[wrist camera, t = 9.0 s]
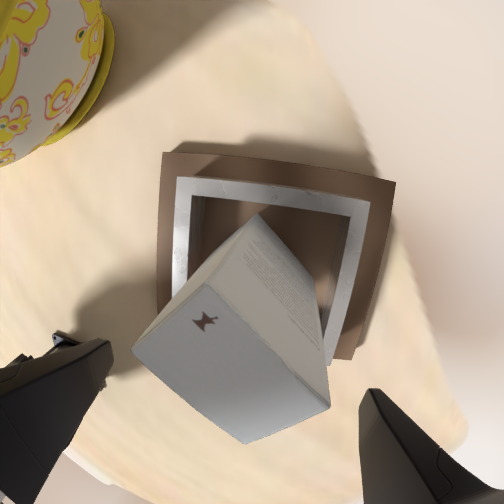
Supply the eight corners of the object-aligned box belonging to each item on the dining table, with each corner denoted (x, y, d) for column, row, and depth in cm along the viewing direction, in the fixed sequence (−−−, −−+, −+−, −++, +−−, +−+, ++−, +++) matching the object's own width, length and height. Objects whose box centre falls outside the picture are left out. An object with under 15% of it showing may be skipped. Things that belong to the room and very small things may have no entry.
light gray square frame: (186, 319, 22) (172, 339, 19) (193, 175, 19) (177, 176, 16) (326, 342, 21) (330, 365, 18) (358, 197, 18) (370, 202, 15)
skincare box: (212, 251, 20) (122, 348, 9) (257, 211, 19) (205, 275, 7) (269, 313, 21) (243, 449, 9) (316, 278, 20) (337, 408, 8)
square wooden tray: (164, 321, 24) (158, 328, 22) (169, 152, 20) (162, 151, 18) (349, 351, 22) (351, 360, 21) (390, 181, 18) (396, 182, 17)
